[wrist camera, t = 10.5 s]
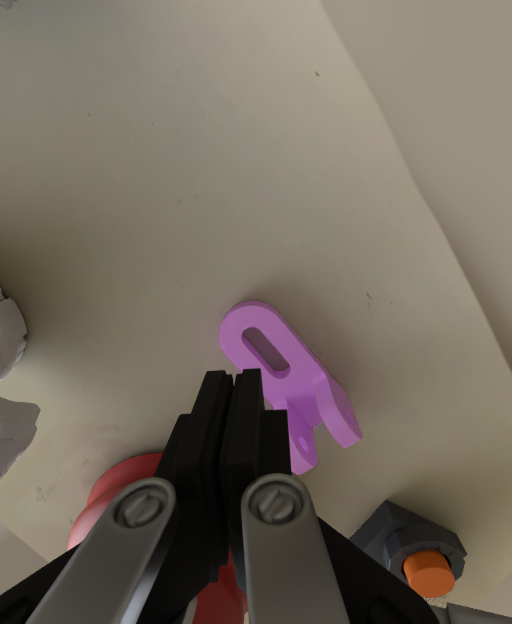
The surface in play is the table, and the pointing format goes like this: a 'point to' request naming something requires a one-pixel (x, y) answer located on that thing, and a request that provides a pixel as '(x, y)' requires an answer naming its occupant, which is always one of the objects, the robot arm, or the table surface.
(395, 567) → the control block
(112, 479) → the table lamp
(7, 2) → the dark grey drawer
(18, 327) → the mug
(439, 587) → the button
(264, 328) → the bracket
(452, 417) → the table surface
